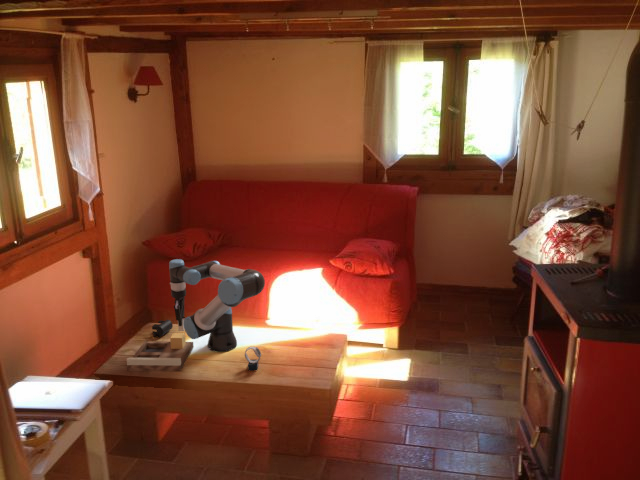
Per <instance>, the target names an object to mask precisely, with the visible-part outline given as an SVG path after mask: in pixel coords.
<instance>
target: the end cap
mask: <svg viewBox="0 0 640 480" xmlns="http://www.w3.org/2000/svg"><path fill="white" fill-rule="evenodd" d="M157 323H158V324H157ZM157 323H156V324H153V325H152V326H151V329H152V330H153V331H152V332H151V333H152V335H153V337H154V338H161V337H163V336H164V335H166V334H167V333H168V332H169V331H170V330H172V329H173V322H172V320H170V319H166V320H159V321H157Z"/></svg>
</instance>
